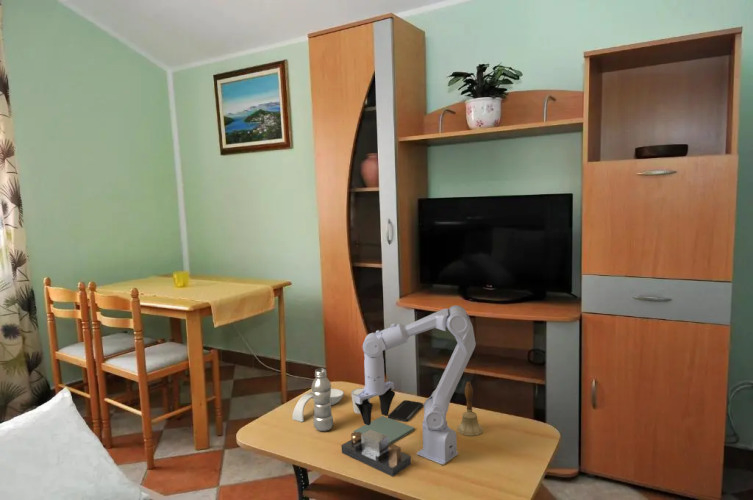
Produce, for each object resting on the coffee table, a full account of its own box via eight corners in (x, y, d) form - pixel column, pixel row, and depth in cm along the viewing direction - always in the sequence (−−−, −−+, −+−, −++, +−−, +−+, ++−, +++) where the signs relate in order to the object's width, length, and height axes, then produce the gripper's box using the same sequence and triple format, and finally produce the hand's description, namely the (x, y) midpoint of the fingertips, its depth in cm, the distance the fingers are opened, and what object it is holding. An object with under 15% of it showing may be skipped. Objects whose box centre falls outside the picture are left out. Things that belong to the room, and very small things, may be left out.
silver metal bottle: (324, 435, 160) (321, 375, 157) (309, 430, 164) (306, 371, 161) (337, 427, 165) (335, 369, 162) (322, 422, 169) (320, 365, 167)
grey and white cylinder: (348, 412, 176) (347, 393, 175) (357, 405, 182) (357, 386, 181) (365, 416, 173) (364, 396, 172) (374, 408, 179) (373, 389, 178)
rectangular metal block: (388, 451, 143) (388, 436, 143) (379, 457, 140) (379, 441, 140) (371, 443, 148) (370, 429, 148) (361, 449, 145) (361, 434, 145)
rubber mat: (414, 429, 161) (414, 427, 161) (386, 446, 151) (386, 444, 151) (382, 418, 171) (382, 415, 170) (353, 433, 160) (353, 430, 160)
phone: (423, 403, 180) (407, 420, 167) (424, 406, 180) (407, 423, 167) (404, 399, 183) (386, 416, 170) (404, 402, 184) (386, 419, 170)
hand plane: (411, 464, 141) (410, 444, 140) (392, 476, 135) (392, 455, 134) (360, 442, 154) (359, 424, 153) (341, 453, 148) (340, 433, 148)
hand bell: (456, 435, 157) (455, 386, 155) (458, 423, 165) (457, 376, 163) (482, 437, 155) (482, 388, 153) (483, 425, 163) (483, 378, 161)
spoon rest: (325, 394, 194) (324, 376, 193) (350, 399, 188) (349, 381, 187) (284, 419, 173) (283, 399, 172) (311, 425, 167) (310, 405, 167)
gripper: (381, 365, 153) (382, 407, 154) (347, 378, 142) (348, 424, 144) (398, 370, 148) (400, 413, 150) (364, 384, 138) (366, 431, 139)
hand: (376, 419), depth 146 cm, fingers open, 7 cm apart
